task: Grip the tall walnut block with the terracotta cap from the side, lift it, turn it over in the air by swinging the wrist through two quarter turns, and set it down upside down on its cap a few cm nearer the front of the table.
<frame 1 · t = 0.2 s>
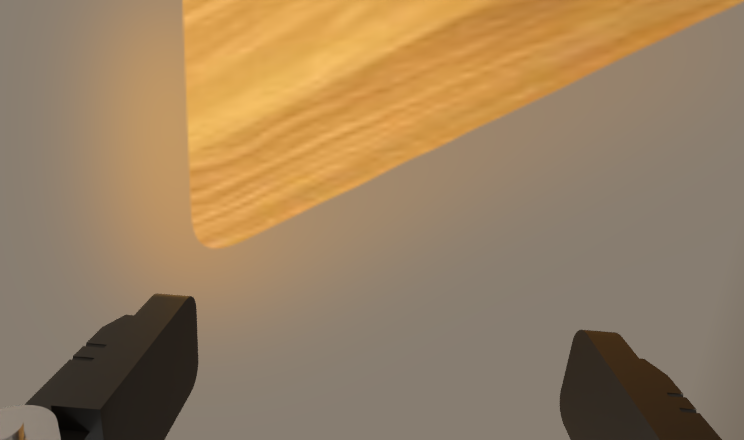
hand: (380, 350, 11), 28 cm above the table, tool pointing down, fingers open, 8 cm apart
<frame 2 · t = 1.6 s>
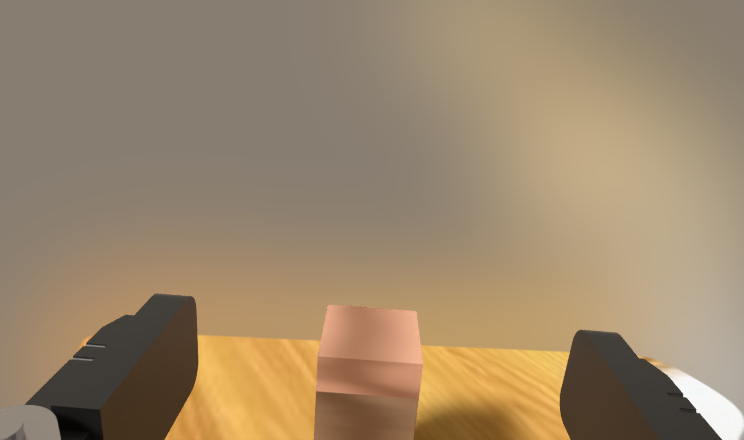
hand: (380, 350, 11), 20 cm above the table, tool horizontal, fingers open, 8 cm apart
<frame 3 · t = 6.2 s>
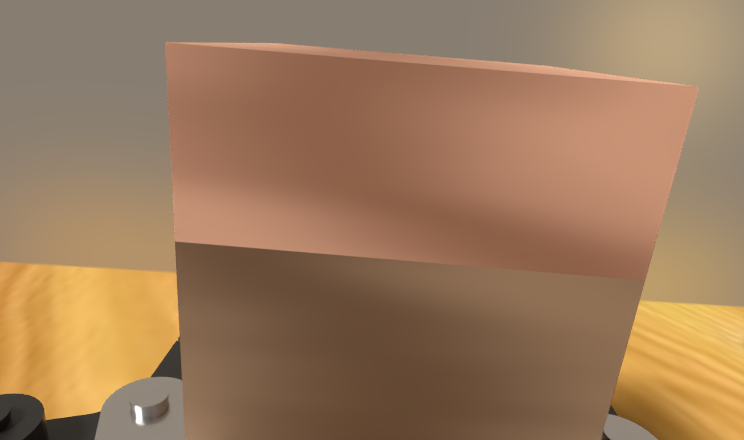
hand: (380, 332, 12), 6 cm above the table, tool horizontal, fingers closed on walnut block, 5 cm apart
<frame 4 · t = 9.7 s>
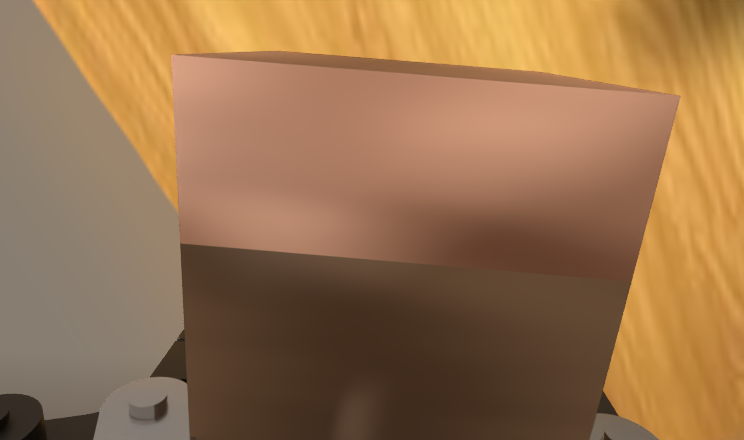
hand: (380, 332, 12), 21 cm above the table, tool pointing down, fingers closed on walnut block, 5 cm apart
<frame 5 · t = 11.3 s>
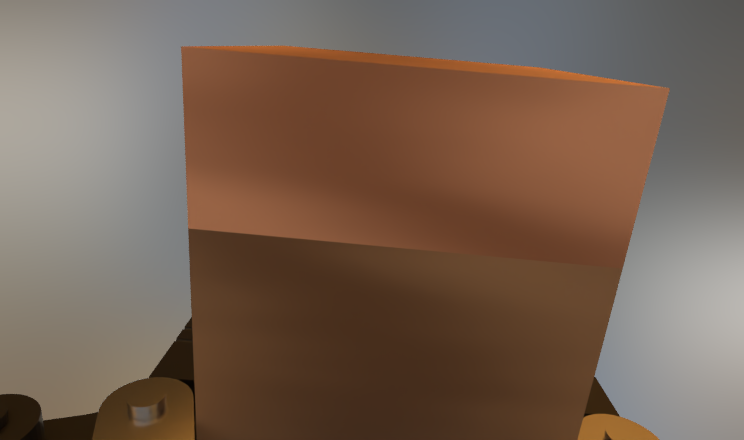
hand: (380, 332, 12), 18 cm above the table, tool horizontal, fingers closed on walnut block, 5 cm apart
when the fingers open (7 cm above the table, at t = 13.8 s): walnut block drops 1 cm, point 12 cm above the table.
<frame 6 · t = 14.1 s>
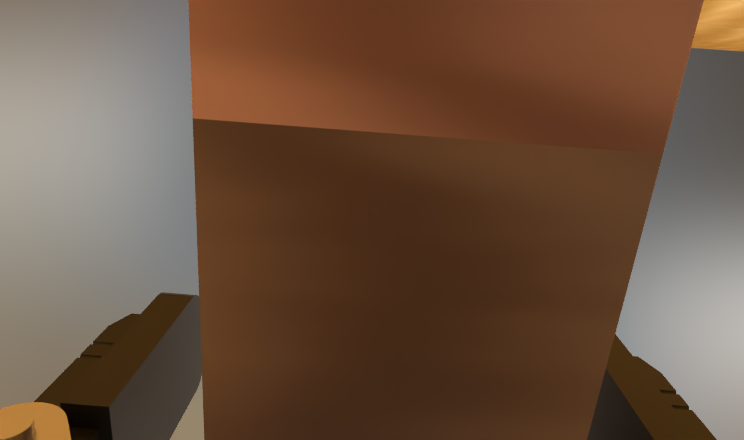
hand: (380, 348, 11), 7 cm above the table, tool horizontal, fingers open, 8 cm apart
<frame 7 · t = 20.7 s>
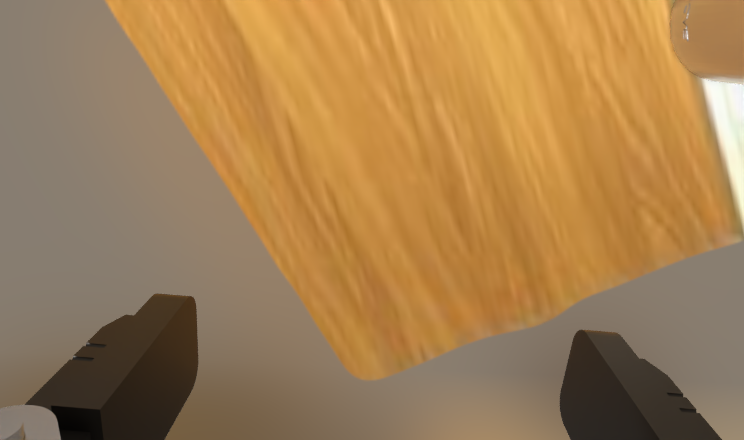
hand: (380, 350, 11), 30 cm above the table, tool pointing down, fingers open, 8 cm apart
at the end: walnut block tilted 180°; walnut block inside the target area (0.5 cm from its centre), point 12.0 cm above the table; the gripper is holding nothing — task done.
